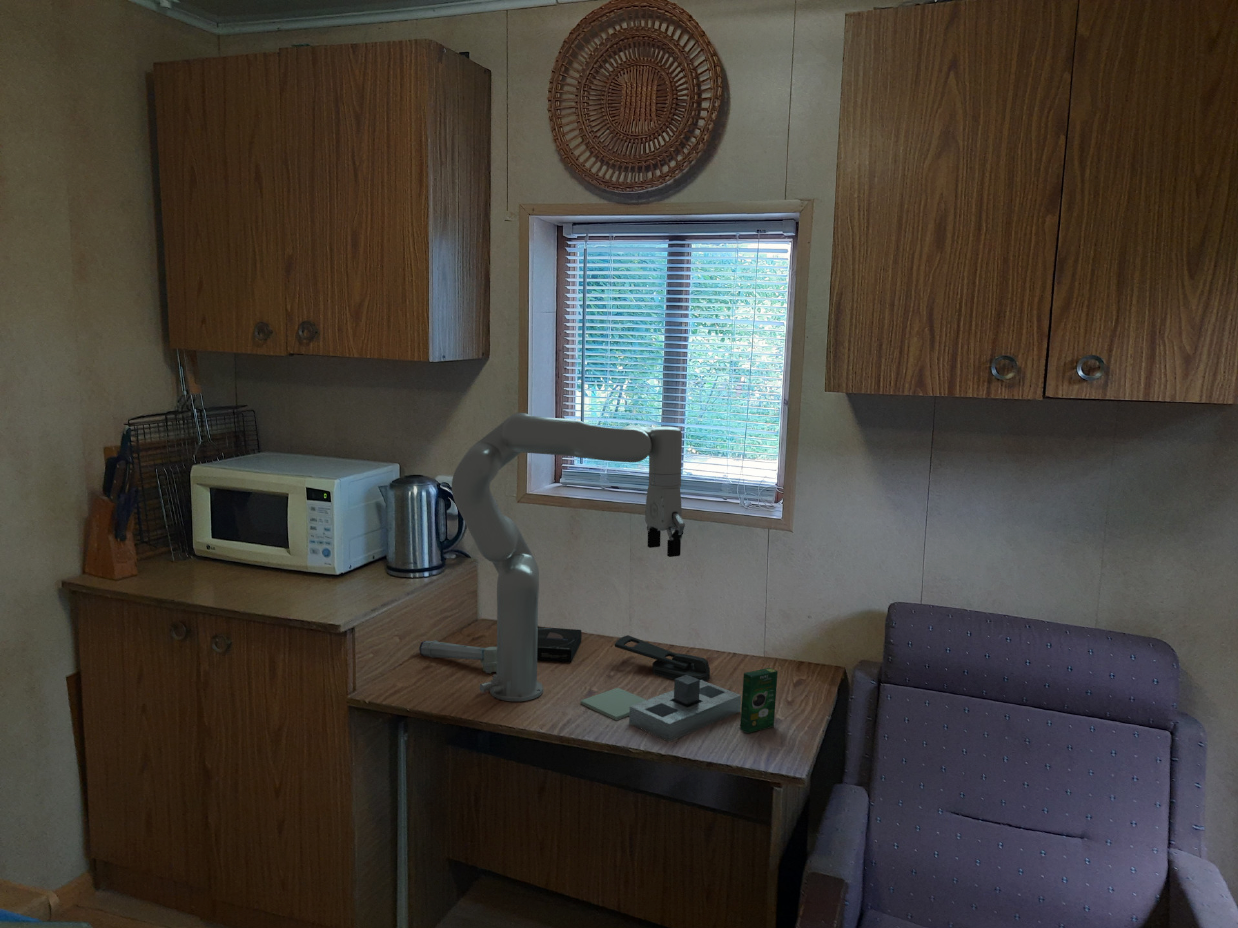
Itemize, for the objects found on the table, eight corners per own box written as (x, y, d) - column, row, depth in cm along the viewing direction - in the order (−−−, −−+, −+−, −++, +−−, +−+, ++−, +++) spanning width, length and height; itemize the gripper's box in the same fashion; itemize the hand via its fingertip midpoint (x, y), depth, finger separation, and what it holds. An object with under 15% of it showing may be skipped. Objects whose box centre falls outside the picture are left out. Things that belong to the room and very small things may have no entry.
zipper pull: (626, 633, 242) (715, 649, 231) (625, 657, 243) (714, 674, 232) (611, 643, 234) (702, 660, 223) (610, 667, 235) (701, 686, 224)
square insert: (686, 722, 203) (687, 684, 201) (673, 717, 205) (674, 678, 204) (698, 717, 205) (699, 679, 204) (685, 712, 208) (686, 674, 207)
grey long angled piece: (429, 637, 242) (507, 641, 231) (432, 662, 243) (509, 667, 231) (416, 643, 238) (495, 647, 226) (419, 668, 238) (497, 674, 227)
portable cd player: (581, 642, 254) (581, 629, 253) (571, 664, 237) (571, 649, 237) (523, 638, 256) (523, 625, 255) (509, 660, 239) (509, 645, 238)
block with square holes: (668, 741, 193) (669, 723, 192) (629, 723, 201) (629, 706, 201) (740, 711, 209) (740, 695, 209) (700, 695, 218) (701, 679, 217)
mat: (616, 720, 203) (616, 716, 203) (580, 703, 211) (580, 700, 211) (653, 706, 211) (653, 702, 211) (617, 690, 220) (617, 687, 219)
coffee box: (766, 721, 204) (769, 665, 203) (775, 726, 202) (778, 669, 200) (739, 729, 200) (741, 672, 198) (747, 734, 198) (750, 676, 196)
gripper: (633, 475, 219) (632, 545, 221) (668, 486, 203) (667, 561, 206) (661, 473, 222) (660, 542, 224) (697, 484, 206) (696, 558, 209)
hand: (663, 551), depth 215 cm, fingers open, 9 cm apart
